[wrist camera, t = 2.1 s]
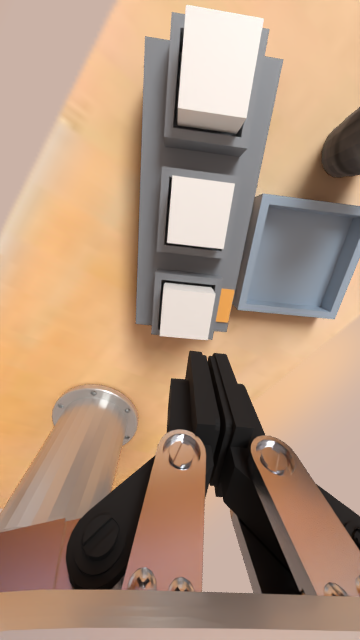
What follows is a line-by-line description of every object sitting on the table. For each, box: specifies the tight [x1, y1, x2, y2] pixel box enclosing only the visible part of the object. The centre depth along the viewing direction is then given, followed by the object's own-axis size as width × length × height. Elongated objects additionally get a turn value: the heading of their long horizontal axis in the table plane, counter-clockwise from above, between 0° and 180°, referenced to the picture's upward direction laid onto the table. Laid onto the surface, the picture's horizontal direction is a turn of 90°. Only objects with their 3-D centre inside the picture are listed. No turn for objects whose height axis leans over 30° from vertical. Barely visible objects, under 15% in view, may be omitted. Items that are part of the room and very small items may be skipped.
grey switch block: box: [136, 5, 283, 340], centre depth 20 cm, size 22×10×8 cm, turn 174°
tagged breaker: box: [160, 282, 216, 340], centre depth 20 cm, size 4×4×2 cm
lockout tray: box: [233, 194, 360, 319], centre depth 24 cm, size 12×12×2 cm
